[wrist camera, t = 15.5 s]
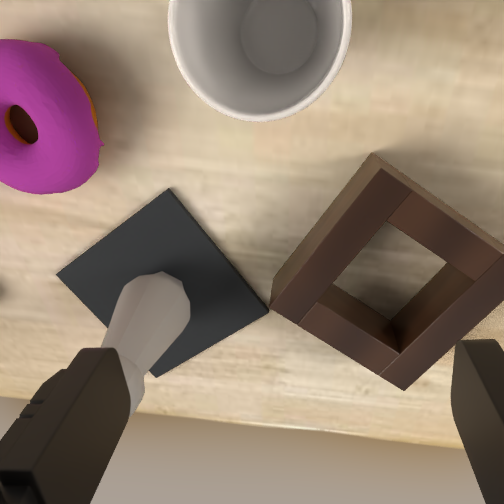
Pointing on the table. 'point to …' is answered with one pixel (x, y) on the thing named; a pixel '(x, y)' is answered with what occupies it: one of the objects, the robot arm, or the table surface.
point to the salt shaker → (146, 326)
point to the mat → (174, 264)
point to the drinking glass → (259, 52)
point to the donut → (45, 121)
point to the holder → (426, 300)
